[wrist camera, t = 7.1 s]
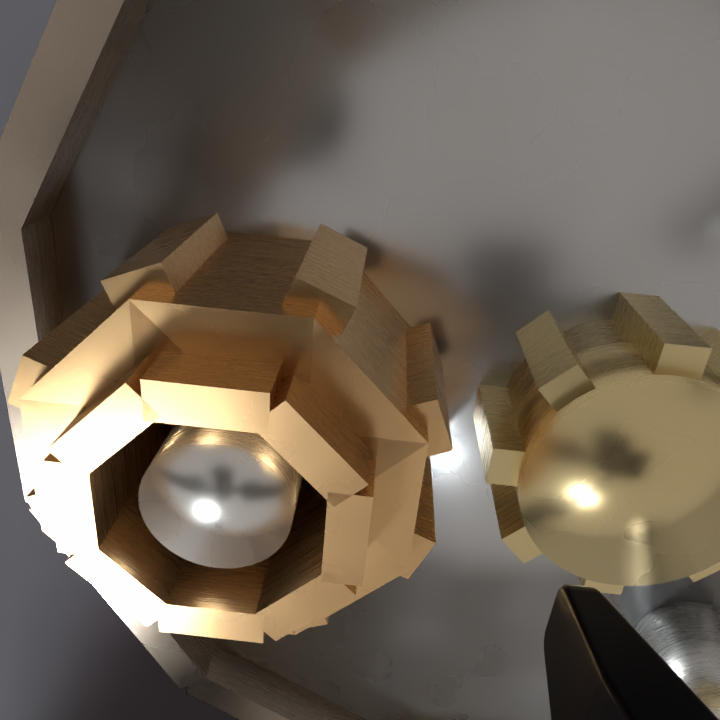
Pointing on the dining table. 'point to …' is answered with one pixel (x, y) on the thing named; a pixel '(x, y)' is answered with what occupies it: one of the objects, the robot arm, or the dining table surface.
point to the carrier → (418, 307)
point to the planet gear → (238, 423)
